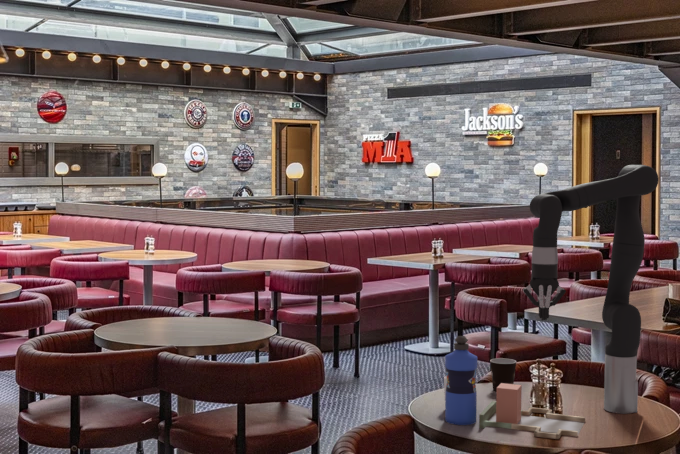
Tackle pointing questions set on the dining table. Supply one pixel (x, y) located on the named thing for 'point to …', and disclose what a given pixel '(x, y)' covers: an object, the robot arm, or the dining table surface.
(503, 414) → the pink rectangular block
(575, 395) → the dining table surface
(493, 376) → the coffee mug
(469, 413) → the water bottle
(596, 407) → the dining table surface
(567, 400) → the dining table surface
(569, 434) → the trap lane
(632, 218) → the robot arm
